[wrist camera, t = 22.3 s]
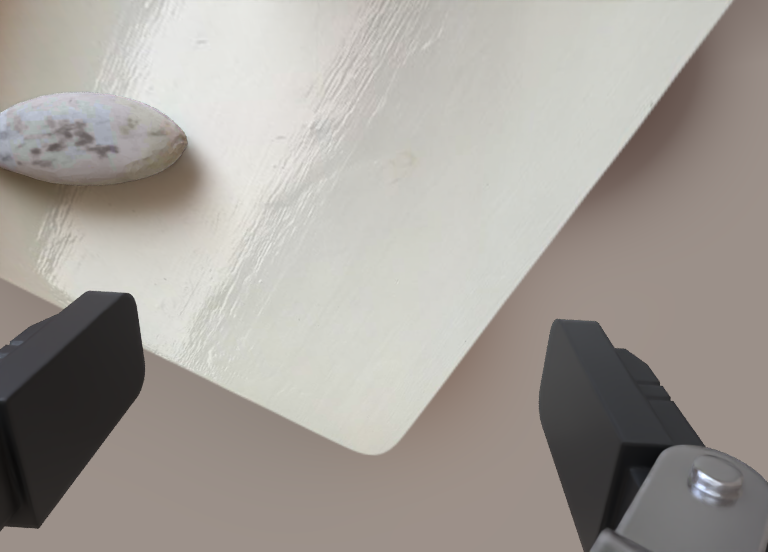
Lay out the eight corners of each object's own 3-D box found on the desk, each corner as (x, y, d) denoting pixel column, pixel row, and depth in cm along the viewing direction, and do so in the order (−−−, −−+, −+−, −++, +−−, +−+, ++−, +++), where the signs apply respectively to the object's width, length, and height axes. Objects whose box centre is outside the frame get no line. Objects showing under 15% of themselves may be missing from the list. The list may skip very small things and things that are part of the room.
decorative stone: (-32, 98, 39) (-70, 104, 36) (187, 82, 38) (167, 87, 35) (-3, 185, 42) (-36, 198, 39) (204, 173, 41) (187, 184, 38)
